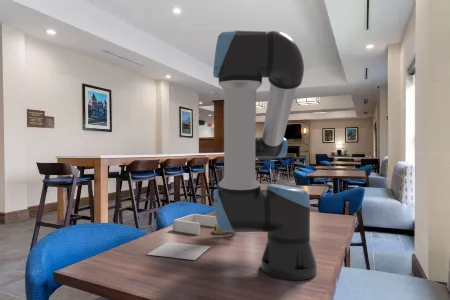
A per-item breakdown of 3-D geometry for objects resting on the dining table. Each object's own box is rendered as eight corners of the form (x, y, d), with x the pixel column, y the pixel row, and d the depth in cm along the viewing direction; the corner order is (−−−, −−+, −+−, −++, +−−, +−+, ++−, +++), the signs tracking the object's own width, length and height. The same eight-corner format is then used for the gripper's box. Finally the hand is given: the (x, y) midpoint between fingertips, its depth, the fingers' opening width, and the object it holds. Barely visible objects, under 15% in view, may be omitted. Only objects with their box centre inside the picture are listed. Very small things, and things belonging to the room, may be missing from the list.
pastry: (233, 230, 126) (233, 221, 126) (238, 234, 119) (238, 225, 119) (212, 231, 123) (212, 222, 123) (216, 236, 117) (216, 226, 117)
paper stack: (179, 236, 116) (179, 235, 116) (241, 242, 108) (241, 240, 108) (146, 256, 93) (146, 254, 93) (221, 265, 86) (221, 263, 86)
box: (198, 234, 117) (198, 223, 117) (173, 230, 124) (173, 220, 124) (217, 226, 130) (217, 216, 130) (193, 223, 137) (193, 213, 137)
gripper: (253, 171, 118) (253, 230, 118) (225, 171, 125) (225, 226, 124) (245, 173, 112) (245, 235, 111) (216, 171, 118) (216, 230, 118)
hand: (235, 230), depth 118 cm, fingers closed
